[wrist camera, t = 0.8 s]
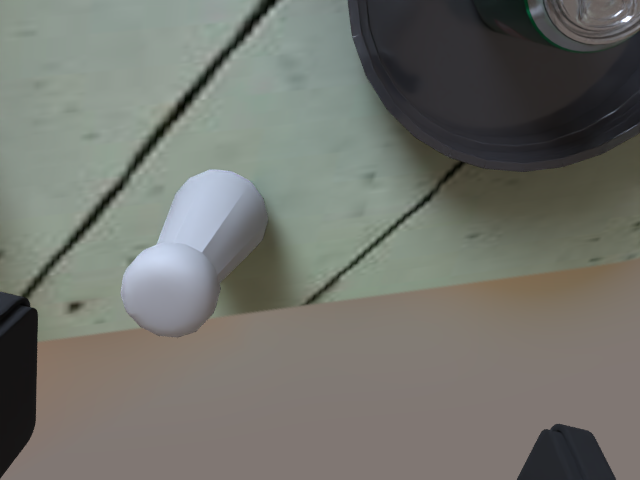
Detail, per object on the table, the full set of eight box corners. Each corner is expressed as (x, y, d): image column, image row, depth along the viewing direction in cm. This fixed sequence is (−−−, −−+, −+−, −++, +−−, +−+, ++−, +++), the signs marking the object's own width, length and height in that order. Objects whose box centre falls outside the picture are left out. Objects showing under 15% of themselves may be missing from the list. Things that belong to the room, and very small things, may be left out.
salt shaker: (194, 147, 35) (106, 225, 23) (283, 174, 35) (240, 264, 23) (177, 230, 37) (89, 339, 25) (260, 255, 38) (212, 374, 26)
